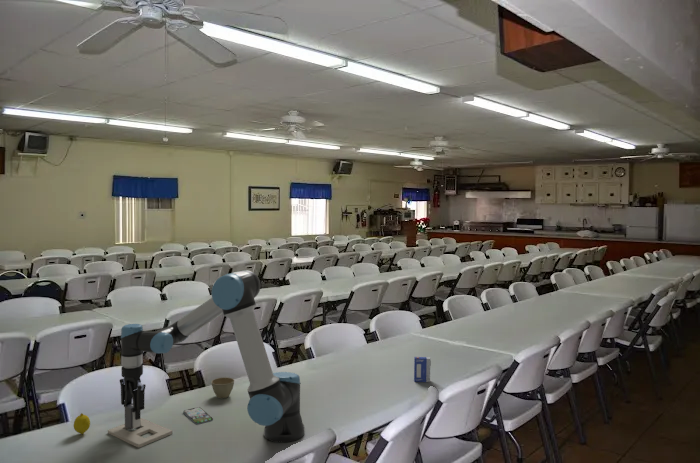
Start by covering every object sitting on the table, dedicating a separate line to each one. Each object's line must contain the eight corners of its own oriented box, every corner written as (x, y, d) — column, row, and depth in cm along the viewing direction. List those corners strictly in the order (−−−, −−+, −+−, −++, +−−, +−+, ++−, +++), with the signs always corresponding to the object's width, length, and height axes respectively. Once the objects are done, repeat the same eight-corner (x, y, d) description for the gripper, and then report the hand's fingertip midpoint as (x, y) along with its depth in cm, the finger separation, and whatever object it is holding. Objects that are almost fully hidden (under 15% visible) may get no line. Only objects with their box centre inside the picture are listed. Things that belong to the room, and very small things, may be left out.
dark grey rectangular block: (140, 425, 200) (140, 405, 199) (130, 429, 196) (130, 408, 196) (134, 423, 202) (134, 402, 201) (124, 426, 199) (124, 405, 198)
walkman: (414, 381, 257) (414, 357, 256) (414, 379, 259) (414, 356, 259) (430, 382, 256) (430, 358, 255) (429, 380, 259) (430, 356, 258)
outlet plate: (172, 433, 197) (172, 430, 197) (138, 447, 185) (138, 444, 185) (141, 420, 208) (141, 417, 208) (107, 433, 197) (107, 430, 197)
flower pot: (238, 396, 235) (238, 380, 235) (219, 402, 228) (219, 386, 227) (226, 390, 242) (226, 375, 242) (207, 396, 235) (207, 380, 234)
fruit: (73, 438, 192) (72, 417, 192) (74, 432, 197) (74, 411, 197) (89, 435, 194) (89, 414, 194) (90, 429, 199) (90, 409, 199)
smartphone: (196, 424, 205) (182, 410, 216) (196, 426, 205) (182, 413, 217) (214, 419, 209) (199, 406, 221) (214, 422, 209) (199, 409, 221)
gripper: (154, 367, 196) (154, 427, 197) (128, 358, 206) (128, 416, 207) (136, 372, 190) (136, 434, 191) (110, 363, 200) (111, 423, 201)
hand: (132, 425), depth 199 cm, fingers closed on dark grey rectangular block, 4 cm apart
